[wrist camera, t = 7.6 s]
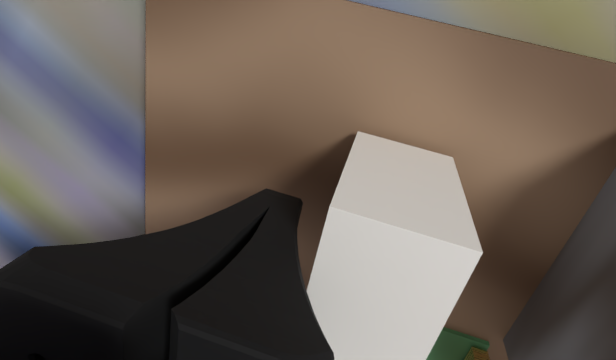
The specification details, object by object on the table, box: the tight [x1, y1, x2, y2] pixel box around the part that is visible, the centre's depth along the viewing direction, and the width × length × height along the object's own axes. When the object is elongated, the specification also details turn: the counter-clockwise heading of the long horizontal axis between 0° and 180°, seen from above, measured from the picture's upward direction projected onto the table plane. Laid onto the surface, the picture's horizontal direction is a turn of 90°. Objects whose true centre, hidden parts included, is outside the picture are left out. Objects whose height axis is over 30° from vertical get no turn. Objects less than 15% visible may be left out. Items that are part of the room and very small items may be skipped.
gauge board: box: [145, 0, 616, 360], centre depth 12 cm, size 13×18×6 cm
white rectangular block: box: [307, 131, 483, 360], centre depth 11 cm, size 9×3×5 cm, turn 168°
